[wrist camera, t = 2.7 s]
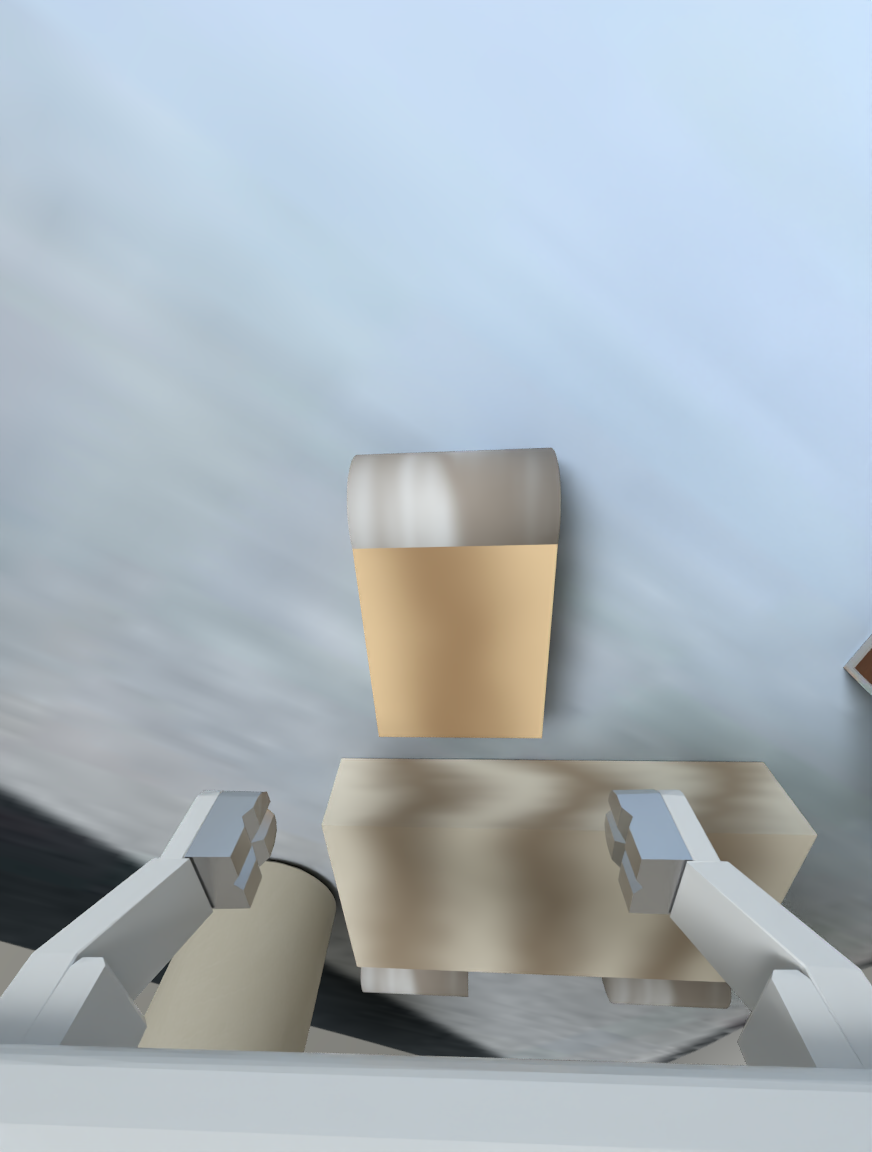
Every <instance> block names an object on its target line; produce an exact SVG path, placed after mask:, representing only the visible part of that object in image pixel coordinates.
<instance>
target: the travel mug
mask: <svg viewBox="0 0 872 1152" xmlns="http://www.w3.org/2000/svg"><path fill="white" fill-rule="evenodd" d="M260 871H261V874H262V879H261V882H260V884H259V887H258V890H257V892H256V895H255V897H254V900H253V903H252V905H251V908H244V909H213V913H212V914H211V915H210V916H209V917H208V918H207V919H206V920H205V921H204V923H203V924H202V925H201V926H200V927H199V928H198V929H197V930H196V932H195V933H194V934H193V935H192V936H191V937H190V938H189V939H188V940H187V942H186V943H185V944H184V945H183V946H182V947H181V948H180V949H179V950H178V952H177V953H176V954H175V955H174V956H173V958H172V960H171V962H170V964H169V966H168V968H167V970H166V972H165V974H164V976H163V978H162V981H161V983H160V985H159V987H158V989H157V991H156V993H155V995H154V997H153V999H152V1001H151V1003H150V1006H149V1008H148V1010H147V1012H146V1014H145V1016H144V1017H145V1019H146V1024H147V1028H146V1030H145V1032H144V1034H143V1036H142V1039H141V1041H140V1043H139V1045H138V1048H173V1049H207V1050H241V1051H276V1052H304V1049H305V1045H306V1041H307V1036H308V1031H309V1028H310V1023H311V1019H312V1014H313V1010H314V1006H315V1001H316V997H317V992H318V988H319V984H320V979H321V975H322V970H323V966H324V961H325V957H326V953H327V948H328V944H329V939H330V935H331V931H332V926H333V922H334V917H335V913H336V902H335V899H334V897H333V895H332V893H331V892H330V891H329V889H328V888H327V887H326V886H325V885H324V884H323V883H321V882H320V881H319V880H318V879H317V878H315V877H313V876H312V875H310V874H308V873H307V872H305V871H303V870H301V869H300V868H298V867H294V866H291V865H287V864H284V863H280V862H277V861H265V862H264V863H263V864H262V865H261V866H260Z"/></svg>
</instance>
